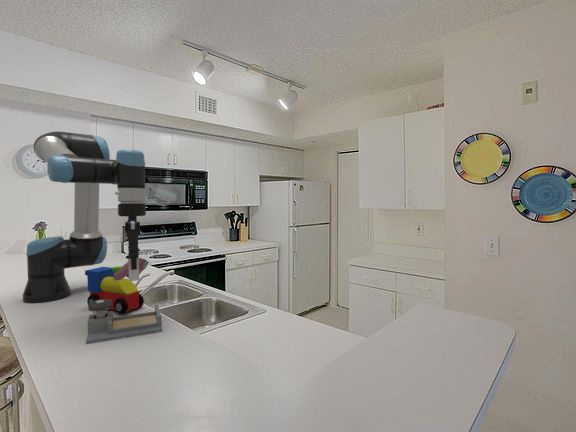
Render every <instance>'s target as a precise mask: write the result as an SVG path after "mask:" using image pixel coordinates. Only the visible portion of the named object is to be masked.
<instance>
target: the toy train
mask: <svg viewBox="0 0 576 432" xmlns="http://www.w3.org/2000/svg"><path fill="white" fill-rule="evenodd" d="M122 266H123V265H122ZM122 266H121V265H120V266H118V265H116V266H112V267H111V266H100V267H96V268H91V269H87V270H84V276H87V277H86V278H87V292H89V295H88V298H87V301H86V303H87V305H88V303H89V302H91V301H95V300H100V299H110V300H112V307H111V308H109V309H108V310H111V311H114V312H115V313H117V314H118V315H121V316H124V315H126V314H127V313H128V312H130V311H133V310H135V309H140V308H142V307H143V306H144V303H145V300H144V296H143V295H142V294H141V293H140V291H139V290H138V287H137V286H136V284H135V283H134V281H129V278H126V277H124V278H123V279H121V280H117V281H116V280H114V274H115V273H116V272H117V271H118V270H119V269H121V268H122Z"/></svg>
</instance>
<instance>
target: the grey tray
mask: <svg viewBox="0 0 576 432" xmlns="http://www.w3.org/2000/svg"><path fill="white" fill-rule="evenodd" d="M160 311H161V309H160V307H159V304H155V305H154V311H147V312H141V313H135V314H134V313H133V314H128V315H127V314H124V315H121V316H120V315H119V316H114V310H109V311H105V317H103V318H96V313H90V314H89V316H88V318H87V336H86V340H85V344H86V345H88V344H95V343H100V342H107V341H113V340H117V338H119V339H124V338H123V337H125V338H131V337H136V336H141V335H142V336H143V335H148V334H155V333H161V332H163V327H162V314H161V312H160ZM112 339H113V340H112Z"/></svg>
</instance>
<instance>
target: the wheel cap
mask: <svg viewBox="0 0 576 432" xmlns="http://www.w3.org/2000/svg"><path fill="white" fill-rule="evenodd" d="M87 307H88V311H90V312H95V314H96V318H103V317H105V312H106V310H110V309H109V308H111V307H112V300H110V299H100V300H95V301H91V302H89V303H88V304H87Z"/></svg>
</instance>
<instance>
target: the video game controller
mask: <svg viewBox="0 0 576 432" xmlns="http://www.w3.org/2000/svg"><path fill="white" fill-rule="evenodd" d="M148 264H149V261H148V260H146V259H145V258H142V257H139V276H140V275H141V273H142V272H143V271H144V270H145V269H146V268H147V267H148ZM123 278H126V279H129V266H128V261H126V263H124V264H123V265H122V268H121V269H119V270H118V271H117V272H116V273H115V274H114V280H116V281H117V280H121V279H123Z"/></svg>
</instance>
